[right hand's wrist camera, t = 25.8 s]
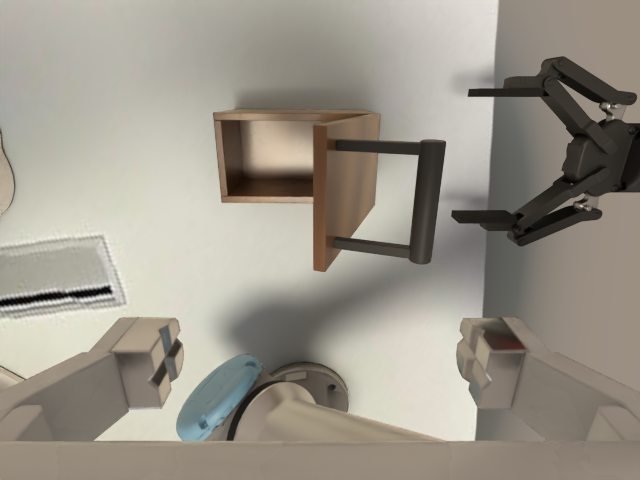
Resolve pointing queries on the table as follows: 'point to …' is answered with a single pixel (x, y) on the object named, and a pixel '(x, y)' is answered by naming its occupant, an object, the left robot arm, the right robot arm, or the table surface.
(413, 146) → the lid
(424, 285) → the table surface
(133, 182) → the table surface
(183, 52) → the table surface
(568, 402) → the right robot arm
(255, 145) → the chest
